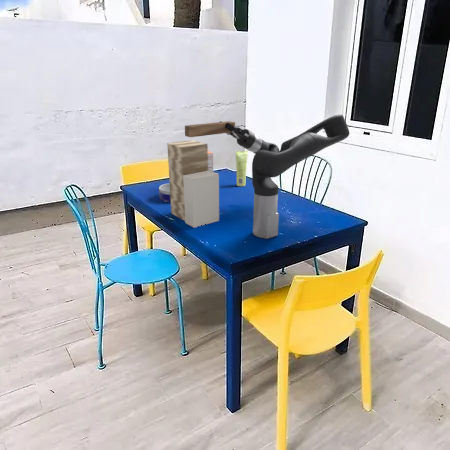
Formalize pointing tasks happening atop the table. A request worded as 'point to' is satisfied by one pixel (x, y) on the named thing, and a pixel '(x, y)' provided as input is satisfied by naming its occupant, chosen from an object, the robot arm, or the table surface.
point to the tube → (241, 167)
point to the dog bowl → (165, 192)
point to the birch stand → (184, 169)
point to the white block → (201, 198)
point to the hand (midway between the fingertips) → (222, 124)
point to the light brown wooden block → (207, 129)
